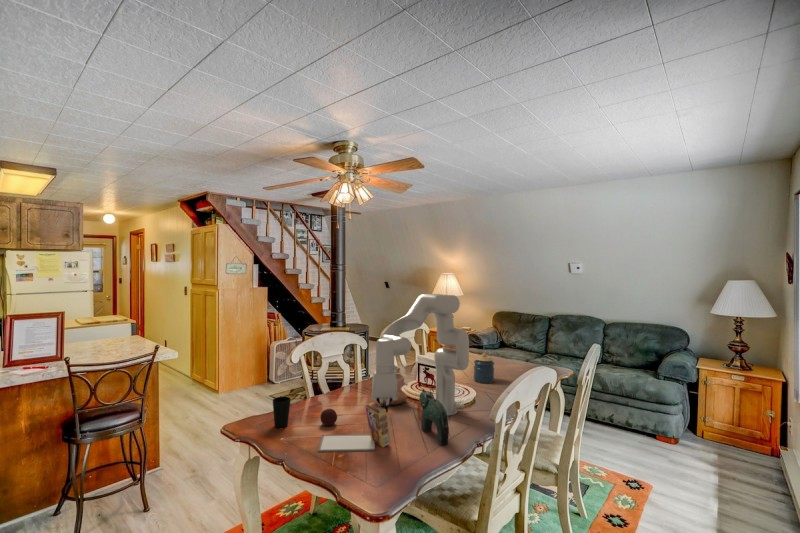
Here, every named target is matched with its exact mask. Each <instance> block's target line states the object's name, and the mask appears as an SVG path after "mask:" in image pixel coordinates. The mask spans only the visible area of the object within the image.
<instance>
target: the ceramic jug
mask: <svg viewBox="0 0 800 533" xmlns="http://www.w3.org/2000/svg"><path fill="white" fill-rule="evenodd" d="M396 379H397V398H398V399H397V400H394V401H391V402H390V403H389V405H390V406H393V405H394V406H395V405H401V404H402V403H404V402H405V401H407V398H408V396H407V394H406V392H405V391H403V390H402V387H404V386H406V387H407V386H408V385H409V383H408V382H404V381H405V374H402V373H398V372H396ZM382 400H383V402H384V404H385V402H386V398H382Z"/></svg>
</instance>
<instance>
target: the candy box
mask: <svg viewBox="0 0 800 533" xmlns="http://www.w3.org/2000/svg"><path fill="white" fill-rule="evenodd" d="M365 411H366V417H367V424H368V429H369V434H370V437H371V439H372V440H373V441H375V443H376V444H377V445H379V446H380V447H381V448H385V447H386V446H388V445H389V444H391V439H390V438H391V436H390V431H389V430H390V429H389V424H388V417H387V416H388V415H387V412H386V409H384V408H383V407H381V405H380V404H379V403H378V404H377V403H376V402H374V401H372V402H370V403H368V404H367V405H365Z"/></svg>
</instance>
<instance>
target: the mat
mask: <svg viewBox="0 0 800 533" xmlns="http://www.w3.org/2000/svg"><path fill="white" fill-rule="evenodd" d="M375 443H376V442H375V441H373V440H372V439H371V437H370V433H368V434H364V433H363V434H359V433H358V434H322V435H321V439H320V443H319V446H318V449H317V452H318V453H324V452H326V453H327V452H328V453H331V452H332V453H333V452H335V453H336V452H374V451H375V450H376V444H375Z"/></svg>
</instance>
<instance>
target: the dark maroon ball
mask: <svg viewBox="0 0 800 533" xmlns="http://www.w3.org/2000/svg"><path fill="white" fill-rule="evenodd" d="M337 420H338V414H337V412H336V411H335V409H333V408H327V409H324V410H323V411H321V413H320V423H321V424H322V425H324V426H327V427H330V426H332V425H334V424H335V423H336V422H337Z"/></svg>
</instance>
